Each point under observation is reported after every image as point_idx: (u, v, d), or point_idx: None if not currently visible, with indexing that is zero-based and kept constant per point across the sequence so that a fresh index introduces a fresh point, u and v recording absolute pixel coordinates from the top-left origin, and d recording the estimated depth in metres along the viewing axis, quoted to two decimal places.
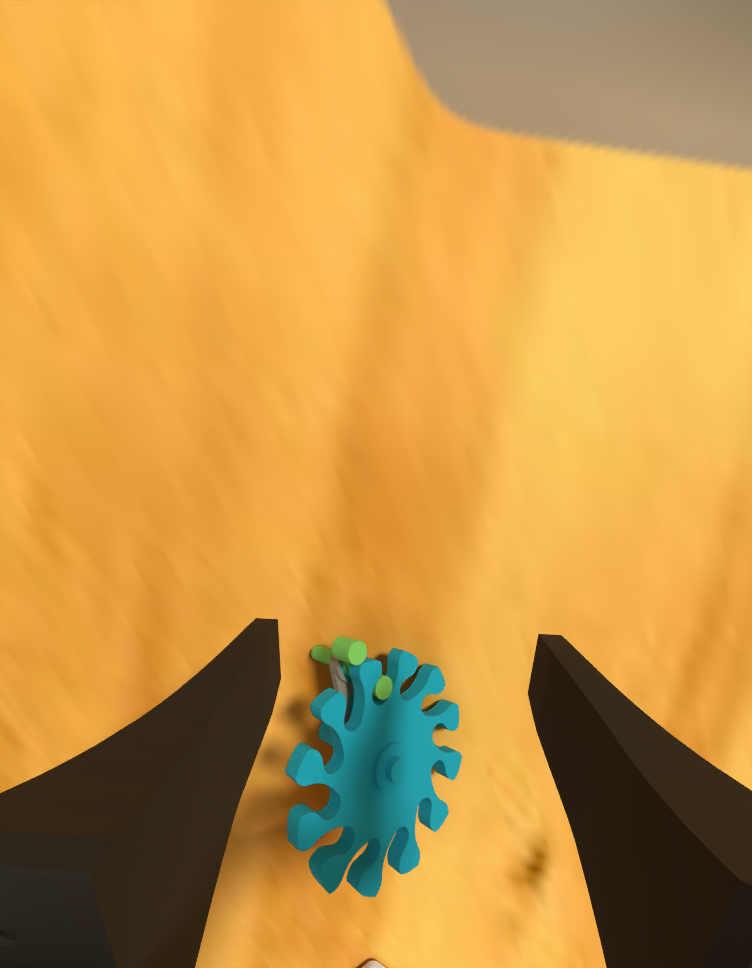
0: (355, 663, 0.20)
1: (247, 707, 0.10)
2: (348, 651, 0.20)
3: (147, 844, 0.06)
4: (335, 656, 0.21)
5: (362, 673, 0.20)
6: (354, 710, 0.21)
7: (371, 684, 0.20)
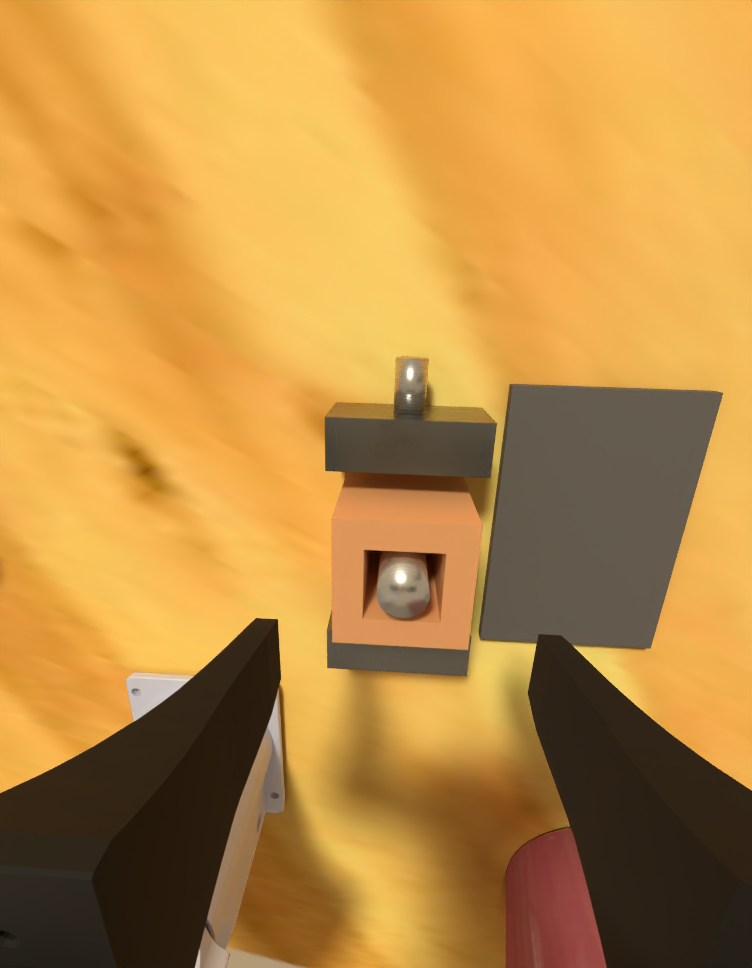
0: None
1: (248, 707, 0.10)
2: None
3: (147, 844, 0.06)
4: None
5: None
6: None
7: None
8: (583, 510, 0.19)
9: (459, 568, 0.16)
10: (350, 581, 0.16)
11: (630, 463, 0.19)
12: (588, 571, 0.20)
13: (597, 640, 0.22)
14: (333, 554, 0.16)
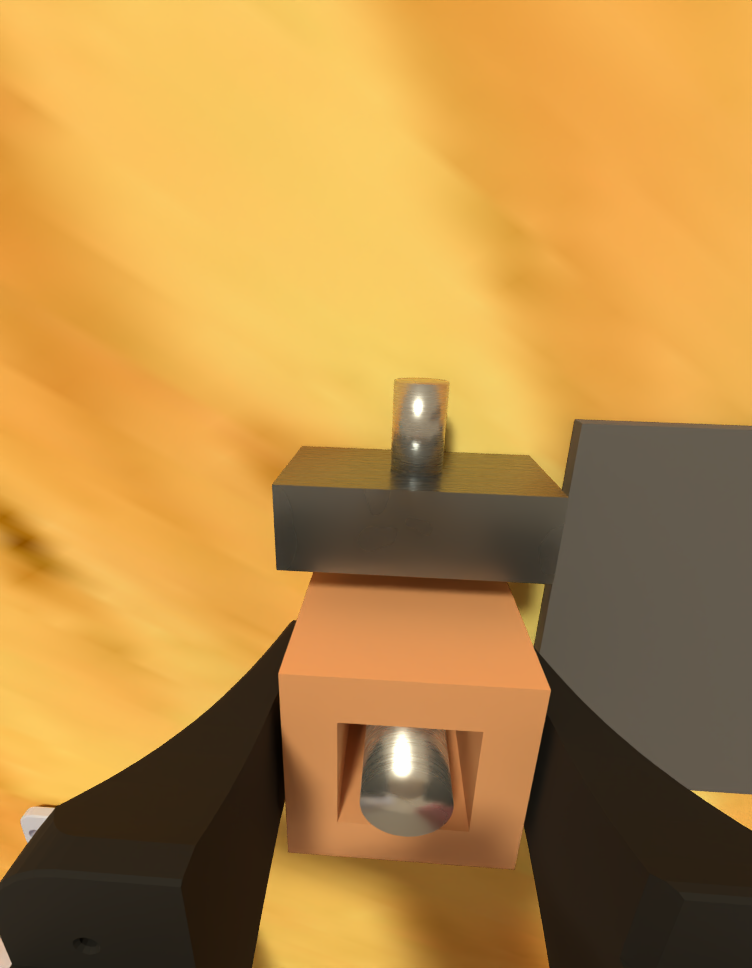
0: None
1: None
2: None
3: (219, 849, 0.06)
4: None
5: None
6: None
7: None
8: (681, 609, 0.13)
9: (505, 754, 0.09)
10: (315, 770, 0.09)
11: None
12: (681, 693, 0.14)
13: (687, 783, 0.15)
14: (284, 727, 0.09)
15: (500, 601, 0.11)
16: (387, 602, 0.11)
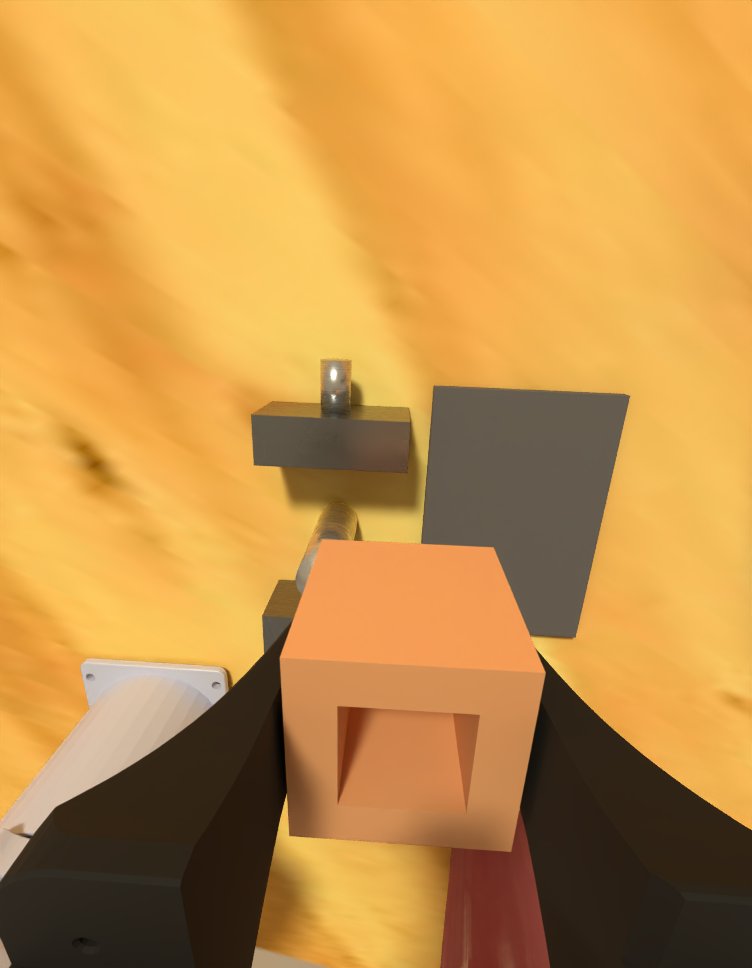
0: None
1: None
2: None
3: (219, 849, 0.06)
4: None
5: None
6: None
7: None
8: (506, 505, 0.21)
9: (501, 736, 0.09)
10: (315, 753, 0.09)
11: (547, 461, 0.20)
12: (514, 563, 0.21)
13: None
14: (285, 711, 0.09)
15: (497, 590, 0.11)
16: (386, 591, 0.11)
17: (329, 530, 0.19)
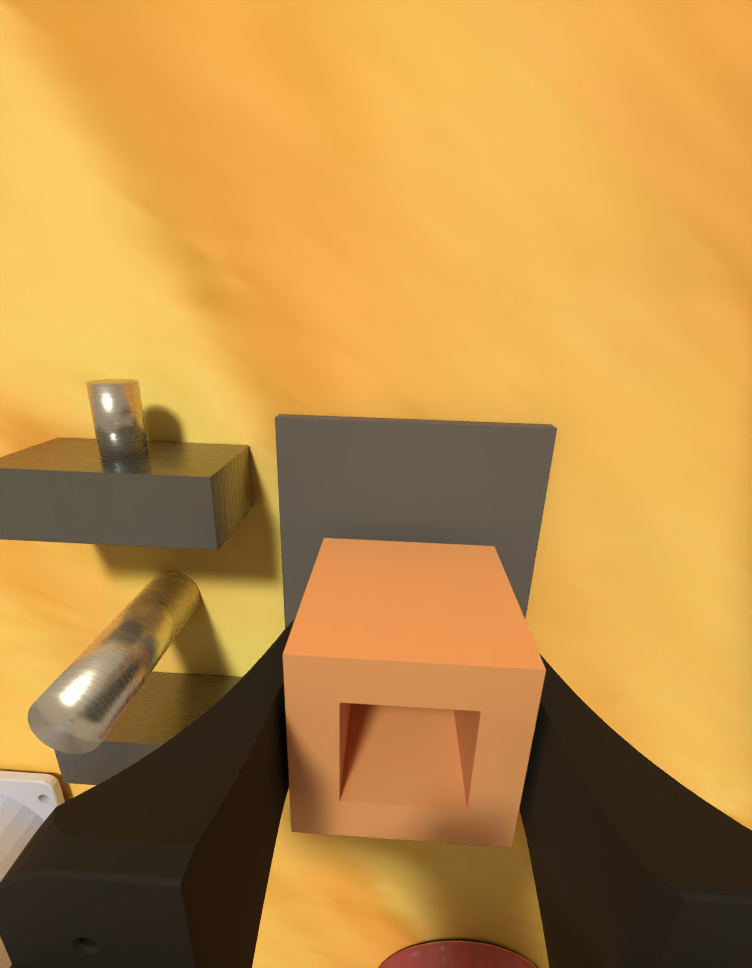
0: None
1: None
2: None
3: (219, 849, 0.06)
4: None
5: None
6: None
7: None
8: None
9: (502, 733, 0.09)
10: (318, 749, 0.10)
11: (446, 519, 0.14)
12: None
13: None
14: (288, 708, 0.09)
15: (497, 588, 0.11)
16: (388, 589, 0.11)
17: (119, 629, 0.13)
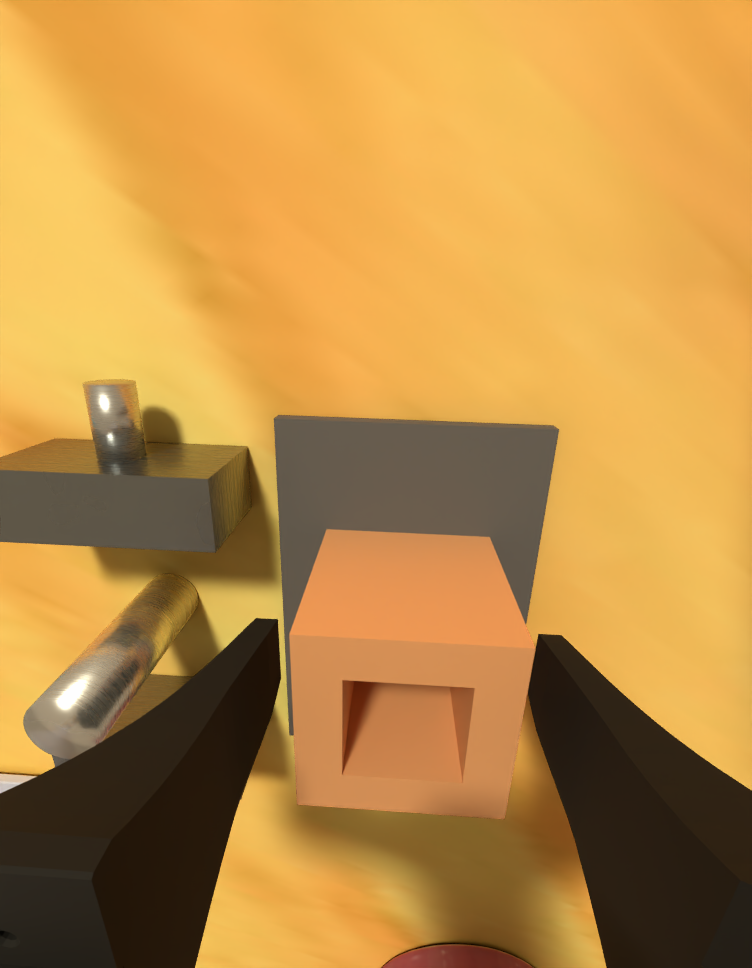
0: None
1: (247, 707, 0.10)
2: None
3: (147, 844, 0.06)
4: None
5: None
6: None
7: None
8: None
9: (495, 709, 0.10)
10: (322, 724, 0.10)
11: (447, 521, 0.14)
12: None
13: None
14: (294, 685, 0.10)
15: (492, 575, 0.12)
16: (387, 576, 0.12)
17: (116, 632, 0.13)
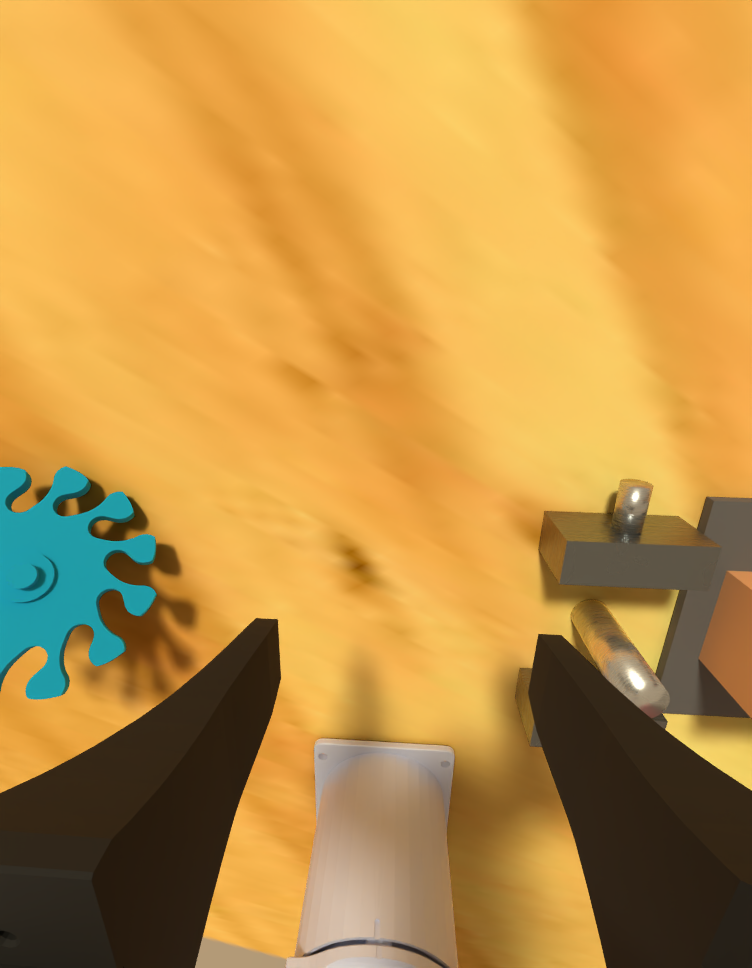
0: None
1: (248, 707, 0.10)
2: None
3: (147, 844, 0.06)
4: None
5: None
6: None
7: None
8: None
9: None
10: None
11: None
12: None
13: None
14: None
15: None
16: None
17: (621, 640, 0.20)
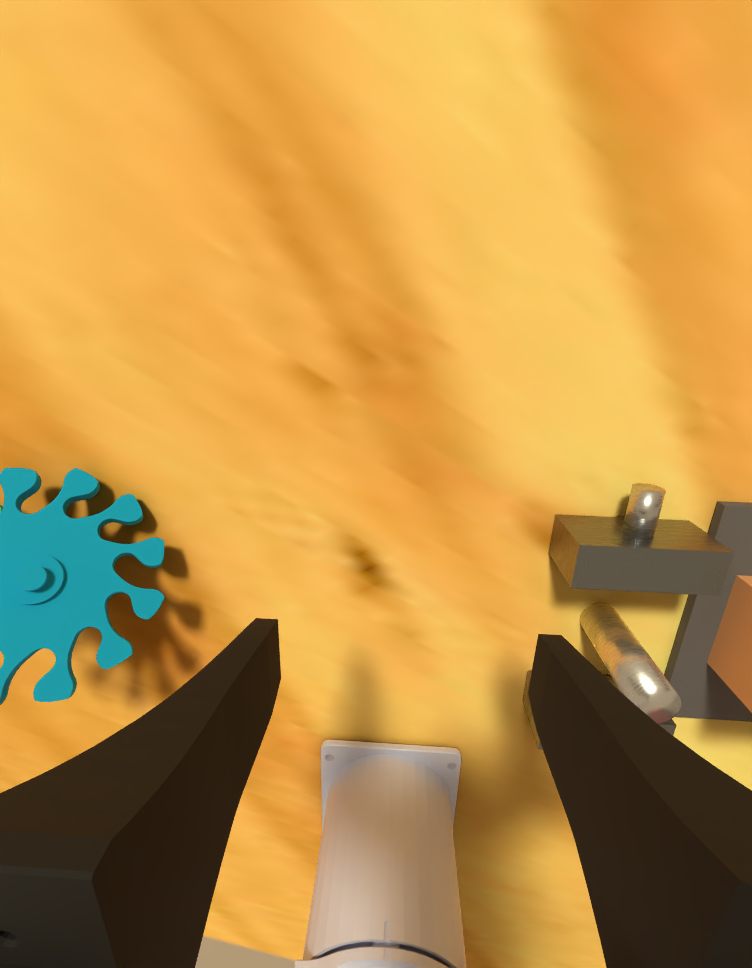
0: None
1: (247, 707, 0.10)
2: None
3: (147, 844, 0.06)
4: None
5: None
6: None
7: None
8: None
9: None
10: None
11: None
12: None
13: None
14: None
15: None
16: None
17: (632, 644, 0.20)
